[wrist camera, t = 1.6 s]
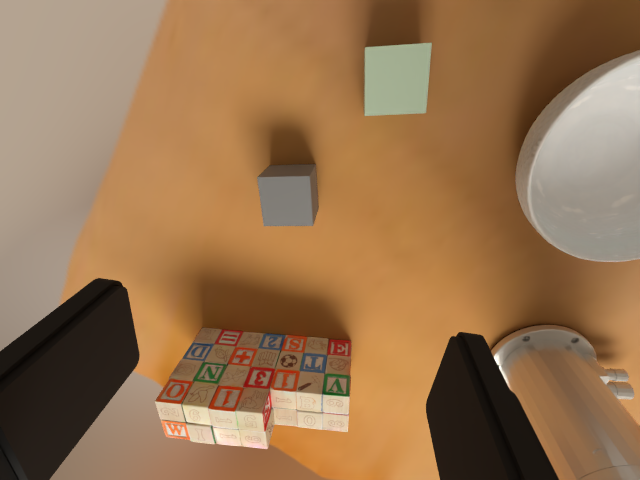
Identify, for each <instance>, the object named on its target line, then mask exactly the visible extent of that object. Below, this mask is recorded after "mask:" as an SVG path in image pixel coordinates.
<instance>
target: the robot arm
mask: <svg viewBox="0 0 640 480" xmlns="http://www.w3.org/2000/svg"><path fill="white" fill-rule="evenodd" d="M138 361H139V349H138V344H137V339H136V334H135V329H134V323H133V318H132V313H131V308H130V302H129V297H128V292H127V289H126V288H125V287H123V285H122V283H121V282H119V281H115V280H108V279H101V278H98V279H95V280H93V281H92V282H91V283H89V284H88V285H87V286H85V287H84V288H83V289H81V290H80V291H79V292H77V293H76V294H75V295H74V296H72V297H71V298H70V299H68V300H67V301H66V302H64V303H63V304H62V305H60V306H59V307H58V308H56V309H55V310H54V311H53V312H51V313H50V314H49V315H47V316H46V317H45V318H43V319H42V320H41V321H39V322H38V323H37V324H36V325H34V326H33V327H32V328H30V329H29V330H28V331H26V332H25V333H24V334H23V335H21V336H20V337H18V338H17V339H16V340H15V341H13V342H12V343H11V344H9V345H8V346H7V347H5V348H4V349H3V350H2V351H0V480H49V479H50V478H51V477H52V475H53V474H54V473H55V471H56V470H57V469H58V468H59V466H60V465H61V464H62V462H63V461H64V460H65V458H66V457H67V456H68V455H69V453H70V452H71V451H72V449H73V448H74V447H75V445H76V444H77V443H78V442H79V440H80V439H81V438H82V436H83V435H84V434H85V432H86V431H87V430H88V428H89V427H90V426H91V425H92V423H93V422H94V421H95V419H96V418H97V417H98V416H99V414H100V413H101V411H102V410H103V409H104V408H105V406H106V405H107V404H108V403H109V401H110V400H111V399H112V397H113V396H114V395H115V393H116V392H117V391H118V389H119V388H120V387H121V386H122V384H123V383H124V382H125V380H126V379H127V378H128V377H129V375H130V374H131V373H132V371H133V370H134V369H135V367H136V366H137V364H138ZM628 378H629V377H628V373H627V372H626V371H625V370H624V369H604V368H603V367H601V366H600V365H599V364H598V363H597V357H596V353H595V350H594V348H593V347H592V345H591V344H590V343H589V342H588V340H587V339H586V338H585V337H584V336H582V335H581V334H580V333H578V332H576V331H575V330H572V329H570V328H567V327H563V326H557V325H538V326H532V327H528V328H524V329H521V330H518V331H516V332H513V333H512V334H510V335H508V336H506V337H505V338H503V339H502V340H501V341H500V342H498V343H497V344H496V346H495V347H494V348H493V349H492V350H491V351H490V349H489V347H488V345H487V343H486V341H485V339H484V337H483V336H482V335H477V334H471V333H464V332H459V333H458V334H457V336H456V337H455V336H452V337H451V338H450V340H449V342H448V345H447V348H446V350H445V353H444V356H443V358H442V361H441V364H440V367H439V369H438V372H437V375H436V377H435V380H434V383H433V385H432V388H431V391H430V394H429V396H428V399H427V403H426V413H427V419H428V424H429V428H430V433H431V438H432V443H433V448H434V452H435V457H436V462H437V467H438V471H439V476H440V480H640V426H639V424H638V423H637V422H636V421H635V419H634V418H633V417H632V416H631V415H630V413H629V412H628V411H627V410H626V408H625V407H624V406H623V405H622V404H621V402H620V401H619V400H618V399H633V397H634V391H633V388H632V387H631V385H630V384H628V383H626V382H608V381H609V380H613V381H628Z"/></svg>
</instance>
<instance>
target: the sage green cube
mask: <svg viewBox="0 0 640 480" xmlns="http://www.w3.org/2000/svg"><path fill="white" fill-rule="evenodd" d="M431 45H432V43H420V44H406V45H391V46H377V47H365V51H364V115H365V116H373V115H395V114H417V113H426V107H427V95H428V82H429V70H430V58H431Z"/></svg>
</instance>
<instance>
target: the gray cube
mask: <svg viewBox="0 0 640 480" xmlns="http://www.w3.org/2000/svg"><path fill="white" fill-rule="evenodd" d="M257 179H258V186H259V194H260V201H261V208H262V216H263V223H264V226H313V224H314V221H315V218H316V215H317V212H318V191H317V173H316V164H298V165H270V166H269V167H268V168H267V169H265V170H264V171H263V172H262V173H261V174H260V175H259V176H258V177H257Z"/></svg>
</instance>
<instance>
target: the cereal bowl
mask: <svg viewBox="0 0 640 480" xmlns="http://www.w3.org/2000/svg"><path fill="white" fill-rule="evenodd" d="M515 175H516V177H515V180H516V182H515V183H516V191H517V195H518V200H519V202H520V205H521V208H522V210H523V213H524V214H525V216H526V217H527V219H528V221H529V222H530V223H531V225H532V226H533V227H534V228H535V229H536V231H537V232H538V233H539V234H540V235H541V236H542V237H543V238H544V239H545V240H546V241H547V242H549V243H550V244H551V245H553V246H555V247H556V248H557V249H559V250H561V251H563V252H565V253H567V254H569V255H571V256H574V257H577V258H581V259H585V260H591V261H600V262H621V261H630V260H636V259H640V50H638V51H635V52H633V53H629V54H625V55H623V56H620V57H618V58H615V59H613V60H610V61H609V62H607V63H604V64H602V65H599V66H598V67H596V68H594V69H592V70H590V71H589V72H587V73H585V74H584V75H583V76H581V77H579V78H577V79H576V80H575V81H574V82H573V83H571V84H570V85H569V86H567V87H566V88H564V89H563V91H562V92H560V93H559V94H558V95H557V96H556V97H555V98H553V99H552V101H551V102H550V103H549V104H548V105H547V106H546V107H545V109H543V111H542V112H541V114H540V115H539V116H538V117H537V119H536V121H535V122H534V123H533V125H532V126H531V128H530V130H529V132H528V133H527V136H526V137H525V140H524V142H523V145H522V147H521V151H520V153H519V157H518V162H517V166H516V173H515Z"/></svg>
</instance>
